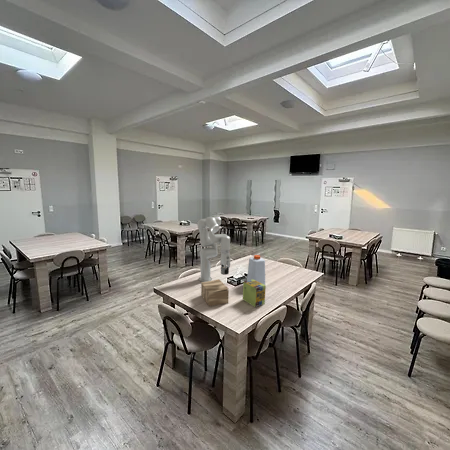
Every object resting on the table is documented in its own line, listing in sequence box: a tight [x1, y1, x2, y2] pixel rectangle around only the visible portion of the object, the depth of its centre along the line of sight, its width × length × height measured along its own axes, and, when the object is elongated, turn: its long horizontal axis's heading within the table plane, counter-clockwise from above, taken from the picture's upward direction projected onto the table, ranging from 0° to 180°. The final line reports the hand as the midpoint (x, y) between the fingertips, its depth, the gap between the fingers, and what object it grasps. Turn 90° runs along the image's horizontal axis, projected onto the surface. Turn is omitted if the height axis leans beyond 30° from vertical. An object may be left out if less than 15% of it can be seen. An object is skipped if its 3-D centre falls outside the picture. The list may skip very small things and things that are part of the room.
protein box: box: [242, 279, 266, 308], centre depth 191 cm, size 10×15×16 cm
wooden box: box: [200, 284, 229, 307], centre depth 194 cm, size 20×16×11 cm
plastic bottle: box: [246, 254, 266, 285], centre depth 223 cm, size 15×15×28 cm
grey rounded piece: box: [220, 265, 228, 276], centre depth 195 cm, size 6×6×5 cm
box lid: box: [200, 279, 229, 293], centre depth 193 cm, size 20×16×1 cm
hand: (224, 272), depth 195 cm, fingers closed on grey rounded piece, 6 cm apart
